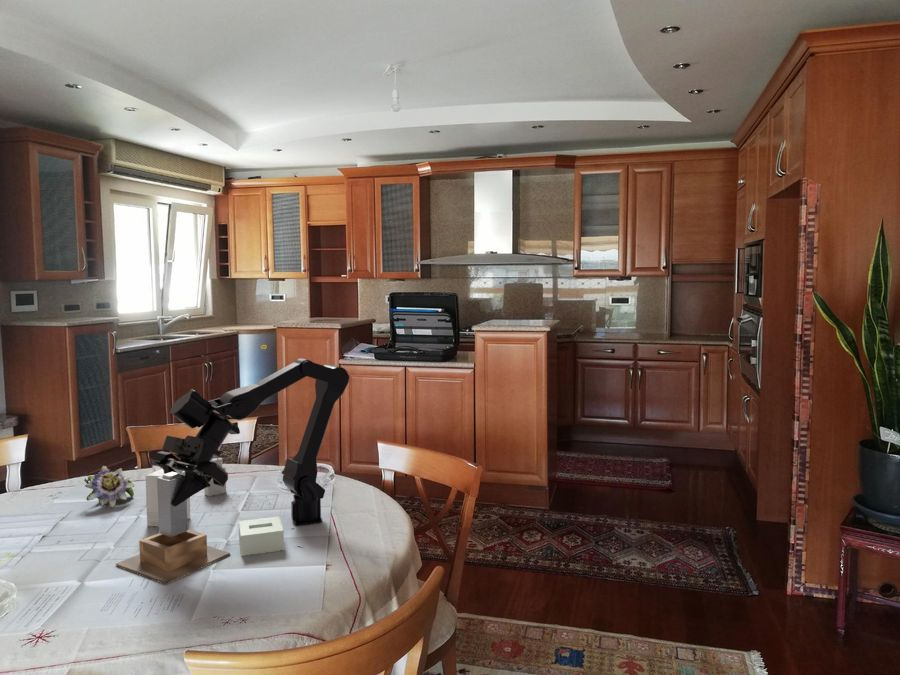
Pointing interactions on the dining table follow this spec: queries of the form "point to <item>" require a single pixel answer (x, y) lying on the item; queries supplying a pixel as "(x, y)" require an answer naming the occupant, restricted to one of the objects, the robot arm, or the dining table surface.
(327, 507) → the dining table surface
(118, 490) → the passion flower
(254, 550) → the narrow slot block
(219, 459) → the power adapter
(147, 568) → the square sleeve
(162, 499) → the square bit
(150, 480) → the supplement box
